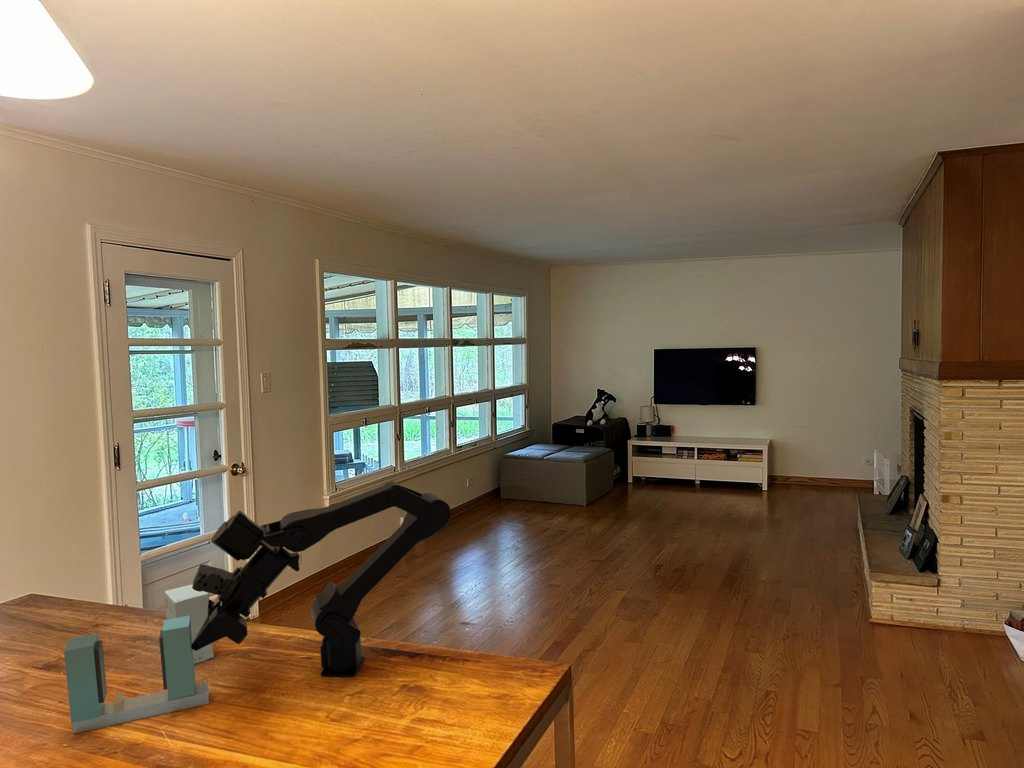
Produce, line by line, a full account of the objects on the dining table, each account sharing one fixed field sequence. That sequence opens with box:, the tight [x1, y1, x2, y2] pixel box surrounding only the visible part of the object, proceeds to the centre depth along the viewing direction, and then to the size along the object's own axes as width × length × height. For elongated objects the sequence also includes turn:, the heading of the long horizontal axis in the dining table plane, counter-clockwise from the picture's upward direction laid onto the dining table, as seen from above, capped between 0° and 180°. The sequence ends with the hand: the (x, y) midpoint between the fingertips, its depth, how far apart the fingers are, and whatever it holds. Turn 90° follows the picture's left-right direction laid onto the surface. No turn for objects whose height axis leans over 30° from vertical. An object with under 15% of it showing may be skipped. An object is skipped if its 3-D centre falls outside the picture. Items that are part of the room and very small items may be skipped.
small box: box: [164, 583, 215, 665], centre depth 137 cm, size 8×6×13 cm
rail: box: [63, 633, 210, 735], centre depth 117 cm, size 20×5×14 cm, turn 112°
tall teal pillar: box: [158, 616, 196, 700], centre depth 119 cm, size 5×5×12 cm
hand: (193, 648), depth 120 cm, fingers closed, pressing on tall teal pillar
